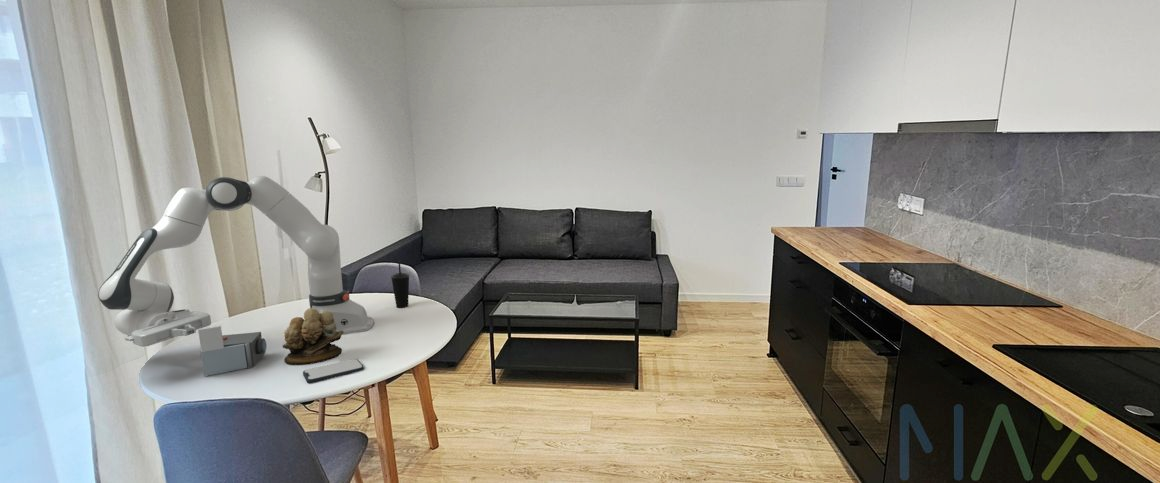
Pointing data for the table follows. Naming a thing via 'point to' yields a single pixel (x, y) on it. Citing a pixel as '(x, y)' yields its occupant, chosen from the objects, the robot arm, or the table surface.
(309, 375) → the phone case
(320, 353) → the owl figurine
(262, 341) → the camera body
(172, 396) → the table surface
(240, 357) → the side door
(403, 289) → the drinking cup
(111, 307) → the robot arm
